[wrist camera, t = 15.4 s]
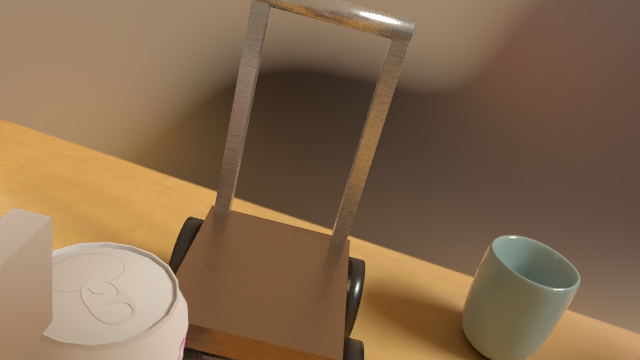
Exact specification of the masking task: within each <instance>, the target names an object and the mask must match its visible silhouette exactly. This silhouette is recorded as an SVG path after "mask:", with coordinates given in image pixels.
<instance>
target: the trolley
mask: <svg viewBox="0 0 640 360" xmlns="http://www.w3.org/2000/svg"><path fill="white" fill-rule="evenodd" d="M271 7H273V8H277V9H280V10H284V11H288V12H292V13H295V14H299V15H303V16H307V17H310V18H314V19H318V20H322V21H326V22H329V23H333V24H337V25H340V26H344V27H348V28H352V29H356V30H359V31H363V32H367V33H371V34H374V35H378V36H382V37H386V38H389V39H390V43H389V46H388V49H387V53H386V56H385V59H384V62H383V66H382V69H381V73H380V76H379V80H378V82H377V86H376V89H375V92H374V96H373V99H372V102H371V106H370V109H369V112H368V116H367V119H366V122H365V126H364V129H363V132H362V136H361V139H360V143H359V146H358V149H357V152H356V156H355V159H354V162H353V166H352V169H351V173H350V176H349V179H348V182H347V186H346V189H345V192H344V196H343V199H342V202H341V206H340V209H339V212H338V216H337V219H336V222H335V226H334V229H333V232H332V235H328V234H324V233H320V232H316V231H312V230H308V229H304V228H300V227H296V226H292V225H288V224H284V223H280V222H276V221H272V220H268V219H264V218H260V217H256V216H252V215H248V214H244V213H241V212H237V211H233V210H231V208H232V202H233V197H234V192H235V187H236V182H237V177H238V172H239V167H240V161H241V156H242V151H243V146H244V141H245V135H246V131H247V125H248V121H249V116H250V110H251V105H252V100H253V95H254V90H255V85H256V79H257V74H258V70H259V64H260V59H261V54H262V49H263V44H264V39H265V34H266V29H267V23H268V18H269V13H270V8H271ZM414 26H415V20H411V19H407V18H403V17H400V16H396V15H393V14H389V13H385V12H381V11H378V10H374V9H370V8H366V7H363V6H359V5H355V4H351V3H348V2H344V1H340V0H252V3H251V9H250V13H249V19H248V25H247V30H246V36H245V41H244V47H243V52H242V59H241V64H240V69H239V75H238V80H237V86H236V92H235V97H234V103H233V108H232V114H231V119H230V125H229V131H228V136H227V142H226V147H225V153H224V158H223V164H222V170H221V176H220V181H219V186H218V192H217V197H216V203H215V206H213V205H212V207H211V209H210V211H209V213H208V215H207V216H206V218H205V220H202V219H198V218H194V217H189V218H187V220H186V221H185V223H184V225H183V227H182V229H181V231H180V233H179V236H178V238H177V241H176V243H175V246H174V249H173V253H172V256H171V259H170V263H169V267H170V268H171V270H172V271H173V273H174V275H175V276H176V278H177V280H178V286H179V290H180V292H181V293H182V295H183V297H184V299H185V301H186V303H187V309H188V329H187V335H186V341H185V347H184V352H183V358H182V360H364V346H363V342H362V341H360V340H356V339H352V338H349V336H350V334H351V332H352V329H353V326H354V323H355V320H356V316H357V313H358V309H359V305H360V300H361V295H362V290H363V284H364V277H365V262H364V260H361V259H357V258H353V257H349V245H350V240H348V239H347V237H348V234H349V231H350V228H351V224H352V221H353V218H354V215H355V212H356V209H357V205H358V202H359V199H360V196H361V193H362V190H363V187H364V184H365V180H366V177H367V174H368V171H369V168H370V164H371V162H372V158H373V155H374V152H375V149H376V146H377V142H378V139H379V136H380V133H381V130H382V127H383V124H384V121H385V117H386V114H387V111H388V108H389V105H390V102H391V98H392V95H393V92H394V89H395V86H396V83H397V80H398V76H399V73H400V70H401V67H402V64H403V61H404V58H405V54H406V51H407V48H408V45H409V42H410V39H411V37H412V33H413V30H414Z"/></svg>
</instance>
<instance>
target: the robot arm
mask: <svg viewBox="0 0 640 360" xmlns="http://www.w3.org/2000/svg"><path fill="white" fill-rule="evenodd" d="M52 321H53V311H52V217H51V216H47V215H42V214H38V213H34V212H30V211H26V210H22V209H17V208H12V209H11V210H10V211H9V212H8V213H6V214H5V215H4V216H3V217H2V218H0V360H23V359H24V357H25V356H26V355H27V353H28V352H29V351H30V350H31V348H32V347H33V346H34V344H35V343H36V342H37V341H38V339H39V338H40V337H41V335H42V334H43V333H44V332H45V330H46V329H47V328H48V326H49V325H50V324H51V322H52Z"/></svg>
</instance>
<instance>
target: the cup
mask: <svg viewBox="0 0 640 360" xmlns="http://www.w3.org/2000/svg"><path fill="white" fill-rule="evenodd" d="M579 284H580V275H579V273H578V271H577V270H576V269H575V268H574V266H573V265H572V264H571V263H570V262H569V261H568V260H567V259H565V258H564V257H563V256H562V255H560V254H559V253H557V252H556V251H555V250H553V249H551V248H550V247H548V246H546V245H544V244H542V243H540V242H538V241H535V240H533V239H529V238H526V237H522V236H515V235H507V236H501V237H498V238H496V239H495V240H493V242H492V243H491V244H490V245H489V247H488V249H487V251H486V253H485V255H484V257H483V259H482V261H481V264H480V266H479V268H478V270H477V272H476V275H475V277H474V279H473V281H472V284H471V286H470V289H469V291H468V294H467V297H466V300H465V304H464V308H463V313H462V326H463V331H464V333H465V335H466V337H467V339H468V341H469V342H470V344H471V345H472V346H473V347H474V348H475V349H476V350H477V351H478V352H479V353H481V354H482V355H483V356H485V357H486V358H488V359H490V360H526V359H528V358H530V357H531V356H532V355H534V354H535V353H536V352H537V351H538V350H539V349H540V348H541V347H542V345H543V344H544V343H545V342H546V341H547V339H548V338H549V336H550V335H551V334H552V332H553V331H554V329H555V328H556V326H557V324H558V323H559V321H560V319H561V318H562V316H563V314H564V313H565V311H566V309H567V308H568V306H569V304H570V302H571V301H572V299H573V297H574V295H575V293H576V291H577V289H578V286H579Z"/></svg>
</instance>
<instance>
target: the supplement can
mask: <svg viewBox="0 0 640 360" xmlns="http://www.w3.org/2000/svg"><path fill="white" fill-rule="evenodd" d="M52 311H53V321H52V322H51V324H50V325H49V326H48V328H47V329H46V330H45V332H44V333H43V334H42V335H41V337H40V338H39V339H38V341H37V342H36V343H35V344H34V346H33V347H32V348H31V350H30V351H29V352H28V353H27V355H26V356H25V357H24V359H23V360H182V358H183V352H184V347H185V341H186V335H187V329H188V309H187V303H186V301H185V299H184V297H183V295H182V293H181V292H180V290H179V286H178V280H177V278H176V276H175V275H174V273H173V271H172V270H171V268H170V267H169V265H167V264H166V263H165V262H163V261H162V260H161V259H159V258H158V257H157V256H155V255H154V254H152V253H150V252H147V251H144V250H142V249H139V248H137V247H134V246H131V245H124V244H118V243H111V242H95V243H80V244H76V245H72V246H68V247H64V248H60V249H56V250H54V251H52Z"/></svg>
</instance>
